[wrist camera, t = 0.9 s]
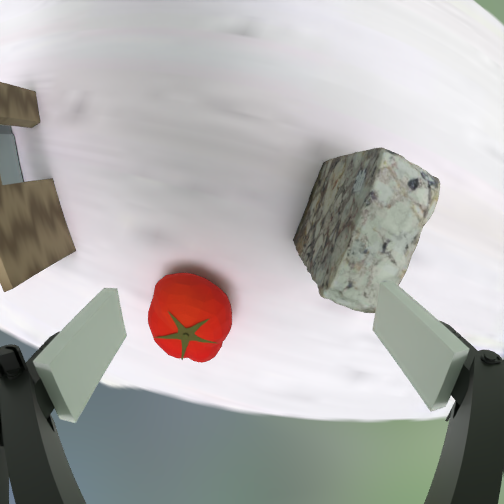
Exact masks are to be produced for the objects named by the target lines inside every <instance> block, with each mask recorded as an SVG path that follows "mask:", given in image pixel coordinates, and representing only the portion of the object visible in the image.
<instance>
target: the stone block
mask: <svg viewBox="0 0 504 504" xmlns="http://www.w3.org/2000/svg"><path fill="white" fill-rule="evenodd" d="M439 190H440V182H439V179H438V178H436V177H434V176H432V175H430V174H429V173H428V172H427V171H426V170H423V169H422V168H420V167H419V166H417V165H415V164H413V163H411V162H409V161H407V160H406V159H405V158H404V157H403V156H401V155H399V154H397V153H394V152H392V151H390V150H387V149H384V148H374V149H370V150H366V151H362V152H355V153H353V154H348V155H344V156H340V157H337V158H334V159H331V160H328V161H326V162H324V163H323V165H322V168H321V170H320V172H319V175H318V178H317V180H316V182H315V185H314V187H313V189H312V192H311V195H310V198H309V201H308V204H307V206H306V209H305V212H304V214H303V217H302V219H301V222H300V224H299V226H298V229H297V232H296V234H295V237H294V239H293V241H294V244H295V246H296V250H297V251H298V253H299V256H300V258H301V259H302V261H303V263H304V265H305V266H307V270H308V272H309V273H311V276H312V279H313V280H314V281H315V282H316V283H317V285H318V289H319V294H320V296H322V297H323V298H326V299H331V300H332V301H333V302H335V303H337V304H340V305H343V306H346V307H348V308H350V309H352V310H356V311H361V312H365V313H376V306H377V300H378V293H379V286H380V282H392V281H393V282H394V283H395V284H397V285H399V284H400V282H401V280H402V278H403V277H404V275H405V273H406V270H407V268H408V266H409V262H410V259H411V256H412V254H413V252H414V250H415V248H416V246H417V244H418V241H419V237H420V233H421V231H422V228H423V226H424V225H425V224H426V222H427V221H428V220H429V219H430V217H431V215H432V214H433V212H434V209H435V207H436V204H437V201H438V197H439Z"/></svg>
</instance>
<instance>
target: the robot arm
mask: <svg viewBox="0 0 504 504" xmlns="http://www.w3.org/2000/svg"><path fill="white" fill-rule="evenodd" d="M373 331H374V332H375V334H376V335H377V336H378V338H379V339H380V341H381V342H382V343H383V345H384V346H385V347H386V349H387V350H388V351H389V353H390V354H391V356H392V357H393V358H394V360H395V361H396V362H397V364H398V365H399V367H400V368H401V369H402V371H403V372H404V374H405V375H406V377H407V378H408V379H409V381H410V382H411V384H412V385H413V387H414V388H415V389H416V391H417V392H418V394H419V395H420V397H421V398H422V400H423V401H424V402H425V404H426V405H427V407H428V408H429V410H430V411H434V410H437V409H440V408H443V407H446V405H447V402H448V400H449V398H450V396H451V395H452V397H453V398H454V399H455V400H456V401H455V403H454V405H453V407H452V409H451V411H450V413H449V415H448V417H447V419H446V421H448V420H449V418H450V420H449V425H448V429H447V433H446V438H445V441H444V445H443V449H442V453H441V456H440V459H439V463H438V466H437V469H436V472H435V475H434V478H433V481H432V484H431V487H430V489H429V492H428V495H427V498H426V500H425V503H424V504H498V499H499V493H500V487H501V481H502V474H503V473H504V360H502V358H501V357H500V356H499V355H498V354H496V353H495V352H493V351H490V350H480V351H477V350H476V349H475V348H474V347H473V346H472V345H471V344H470V343H469V342H468V341H466V340H465V339H464V338H463V337H461V335H460V334H459V333H458V332H457V333H456V331H455V330H454V329H453V328H452V327H451V326H450V325H448V324H446V323H444V322H442V321H439V320H437V319H436V318H435V317H434V316H433V315H432V314H431V313H429V312H428V311H427V310H426V309H425V308H424V307H423V306H421V305H420V304H419V303H418V302H417V301H416V300H414V299H413V298H412V297H411V296H410V295H409V294H407V293H406V292H405V291H404V290H403V289H401V288H400V287H399V286H398V285H397V284H395V283H394V282H393V281H392V282H380V286H379V293H378V300H377V306H376V313H375V318H374V324H373ZM126 336H127V335H126V331H125V326H124V321H123V317H122V312H121V307H120V301H119V296H118V291H117V288H104V289H103V290H102V291H101V292H99V293H98V294H97V295H96V296H95V297H94V298H93V299H92V300H91V301H90V302H89V303H88V304H87V305H86V306H85V307H84V308H83V309H82V310H81V311H80V312H79V313H78V314H77V315H76V316H75V317H74V318H73V319H72V320H71V321H70V322H69V323H68V324H67V325H66V326H65V327H64V328H63V329H62V331H61V332H58V333H56V334H54V335H52V336H51V337H50V338H49V339H48V340H47V341H46V342H45V343H44V344H43V345H42V346H41V347H40V348H39V350H37V351H36V352H35V353H34V354H33V356H32V357H31V358H30V359H29V360H28V361H27V362H26V363H25V360H24V358H23V356H22V353H21V351H20V348H19V347H18V346H16V345H5V346H2V347H0V504H9V477H10V482H11V486H12V491H13V495H14V499H15V502H16V504H86V502H85V500H84V498H83V496H82V494H81V492H80V489H79V487H78V485H77V483H76V481H75V478H74V476H73V474H72V471H71V468H70V466H69V463H68V461H67V458H66V456H65V453H64V450H63V447H62V445H61V442H60V439H59V436H58V433H57V429H56V426H55V423H54V420H53V418H52V416H51V415H50V414H51V412H52V411H53V409H54V408H55V410H56V412H57V414H58V416H59V418H60V419H62V420H66V421H70V422H74V423H76V422H77V420H78V418H79V416H80V414H81V413H82V411H83V409H84V407H85V406H86V404H87V402H88V400H89V398H90V397H91V395H92V393H93V391H94V389H95V388H96V386H97V384H98V383H99V381H100V379H101V378H102V376H103V374H104V373H105V371H106V369H107V368H108V366H109V364H110V362H111V361H112V359H113V358H114V356H115V354H116V353H117V351H118V349H119V348H120V346H121V344H122V343H123V341H124V340H125V338H126Z"/></svg>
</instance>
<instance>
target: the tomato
mask: <svg viewBox="0 0 504 504" xmlns="http://www.w3.org/2000/svg"><path fill="white" fill-rule="evenodd" d="M148 324H149V327H150V330H151V332H152V335H153V337H152V338H154V340H155V342H156V343H157V344H158V345H159V346H160V347H161V348H162V349H163V350H164V351H165V352H166V353H167V354H168V355H170V356H173V357H175V358H182V360H183V358H190V359H191V360H193V361H196V362H206V361H209V360H211V359H212V358H214V357H215V356H216V354H217V353H218V351H219V350H220V348H221V347H222V343H223V341H224V340H225V338H226V337H227V335H228V333H229V331H230V329H231V325H232V310H231V304H230V302H229V299H228V297H227V295H226V294H225V293H224V292H223V291H222V290H221V289H220V288H219V287H218V286H216V285H215V284H213V283H212V282H210V281H209V280H207V279H206V278H203V277H200V276H198V275H195V274H190V273H176V274H170V275H165V276H164V277H163V278H162V279H161V280H159V281H158V283H157V284H156V285H155V290H154V295H153V299H152V302H151V305H150V308H149V311H148Z"/></svg>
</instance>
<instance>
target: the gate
mask: <svg viewBox="0 0 504 504" xmlns="http://www.w3.org/2000/svg"><path fill="white" fill-rule="evenodd" d="M0 176H1V181H2V185H7V184H14V183H21V182H23V179H22V175H21V170H20V166H19V161H18V156H17V151H16V145H15V140H14V135H12V133H11V127H10V126H6V125H0Z"/></svg>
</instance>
